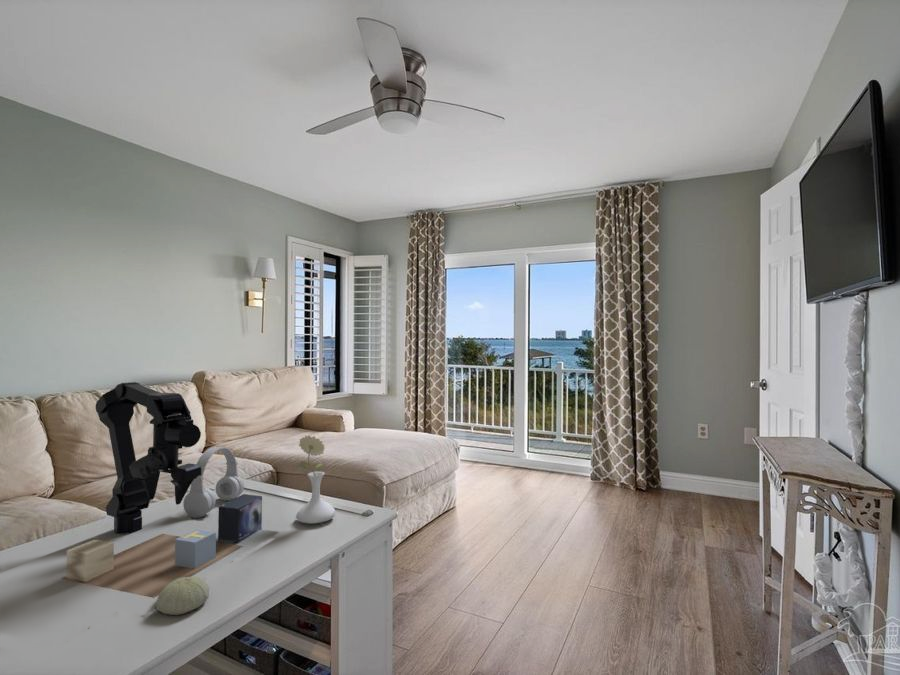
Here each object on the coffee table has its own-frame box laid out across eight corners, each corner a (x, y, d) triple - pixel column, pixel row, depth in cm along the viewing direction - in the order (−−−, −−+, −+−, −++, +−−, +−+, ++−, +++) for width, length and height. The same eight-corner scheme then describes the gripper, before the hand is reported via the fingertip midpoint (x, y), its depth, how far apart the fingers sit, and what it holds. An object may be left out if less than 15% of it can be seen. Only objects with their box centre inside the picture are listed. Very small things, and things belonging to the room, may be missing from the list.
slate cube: (195, 542, 105) (195, 568, 105) (215, 532, 111) (215, 557, 111) (175, 539, 107) (174, 565, 107) (196, 529, 113) (196, 554, 113)
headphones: (222, 496, 159) (222, 441, 160) (245, 497, 158) (245, 441, 158) (181, 518, 139) (181, 454, 140) (207, 519, 138) (207, 455, 139)
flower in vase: (343, 517, 139) (343, 435, 140) (314, 530, 129) (313, 441, 130) (314, 509, 146) (314, 431, 146) (284, 521, 136) (284, 437, 137)
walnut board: (60, 584, 101) (60, 578, 101) (162, 538, 125) (162, 533, 125) (154, 603, 93) (154, 597, 93) (243, 550, 117) (243, 546, 117)
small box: (238, 548, 118) (238, 508, 118) (216, 546, 120) (216, 506, 120) (263, 532, 129) (263, 494, 129) (242, 530, 130) (242, 493, 130)
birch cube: (66, 578, 101) (66, 550, 101) (94, 565, 107) (94, 539, 107) (85, 582, 99) (86, 554, 100) (113, 569, 105) (113, 542, 105)
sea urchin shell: (175, 615, 86) (159, 577, 89) (159, 635, 89) (144, 598, 92) (221, 592, 94) (205, 558, 97) (205, 612, 96) (190, 578, 100)
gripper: (109, 445, 115) (107, 507, 115) (165, 452, 109) (164, 518, 109) (150, 436, 126) (148, 493, 126) (203, 442, 120) (202, 502, 120)
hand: (164, 501), depth 120 cm, fingers open, 9 cm apart
